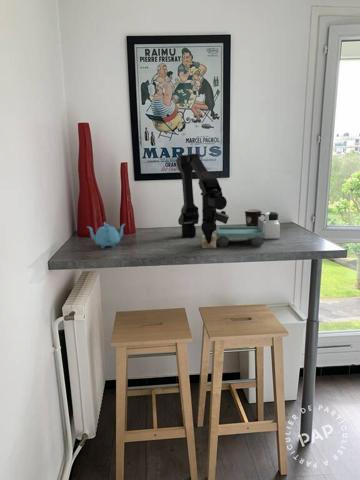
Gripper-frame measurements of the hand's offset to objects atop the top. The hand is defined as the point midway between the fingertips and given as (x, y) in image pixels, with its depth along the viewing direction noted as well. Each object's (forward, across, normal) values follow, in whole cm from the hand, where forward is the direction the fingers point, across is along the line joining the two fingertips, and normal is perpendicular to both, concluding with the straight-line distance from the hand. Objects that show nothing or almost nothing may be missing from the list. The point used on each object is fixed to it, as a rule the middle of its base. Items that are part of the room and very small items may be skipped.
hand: (209, 241), depth 159 cm
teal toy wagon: (+2, +6, -14) cm, 15 cm away
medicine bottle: (+2, +17, -30) cm, 34 cm away
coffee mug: (+2, +34, -24) cm, 42 cm away
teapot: (+2, +1, +46) cm, 46 cm away
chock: (+2, 0, 0) cm, 2 cm away
